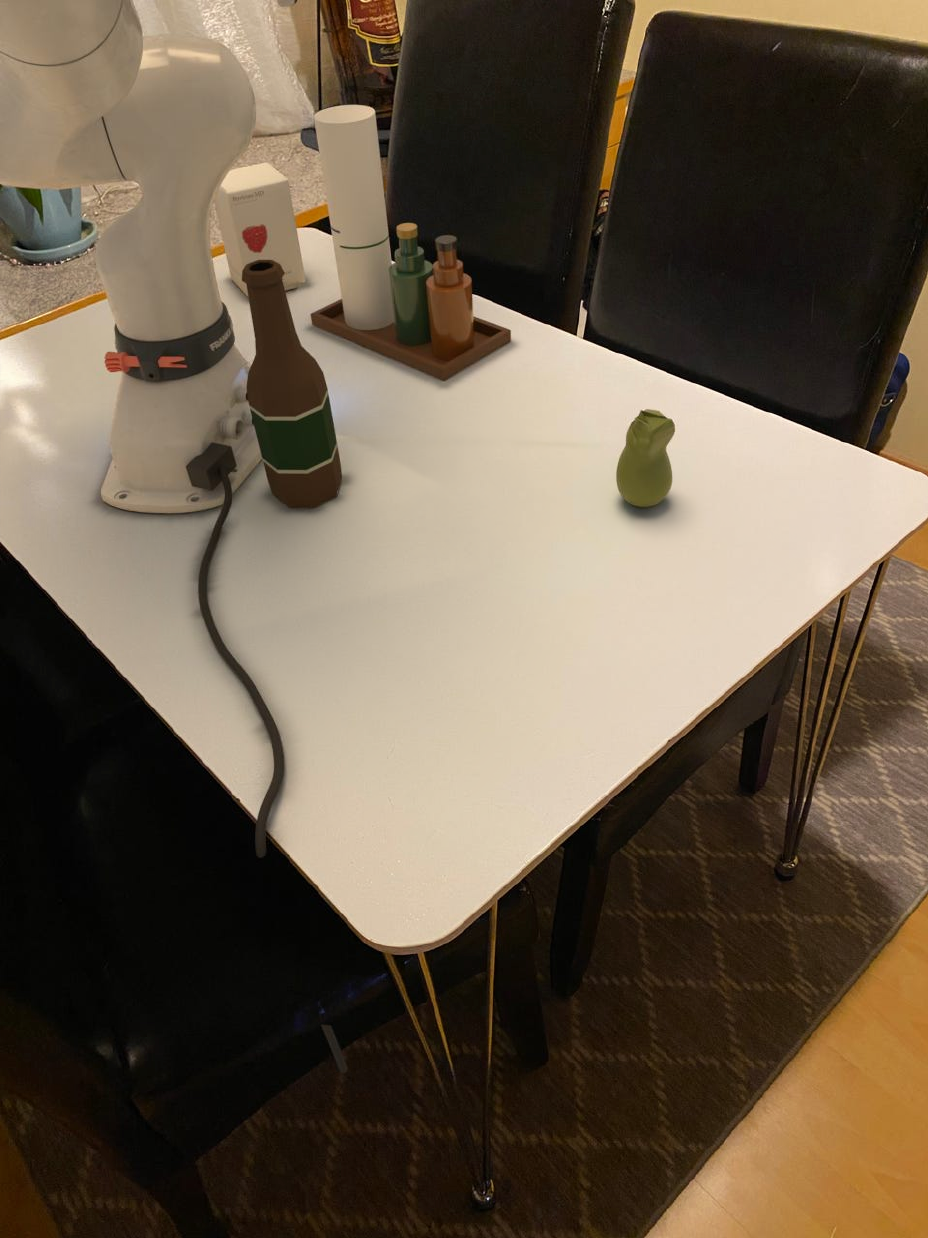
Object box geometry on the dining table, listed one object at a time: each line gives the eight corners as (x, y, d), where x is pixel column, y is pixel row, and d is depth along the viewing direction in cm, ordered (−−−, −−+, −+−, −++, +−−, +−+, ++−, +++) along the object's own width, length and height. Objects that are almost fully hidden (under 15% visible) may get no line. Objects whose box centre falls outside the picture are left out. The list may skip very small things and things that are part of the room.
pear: (638, 478, 94) (646, 393, 87) (680, 498, 91) (692, 412, 84) (604, 502, 91) (610, 416, 84) (646, 524, 88) (656, 437, 81)
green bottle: (434, 345, 115) (425, 235, 105) (392, 345, 116) (379, 235, 106) (440, 325, 119) (432, 217, 109) (400, 325, 120) (388, 217, 110)
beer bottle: (266, 476, 97) (211, 256, 81) (336, 461, 99) (297, 241, 82) (277, 517, 92) (221, 290, 75) (351, 501, 93) (312, 274, 77)
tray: (511, 344, 116) (511, 329, 114) (444, 385, 109) (443, 369, 108) (379, 295, 128) (378, 280, 127) (312, 328, 122) (310, 313, 120)
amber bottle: (472, 361, 112) (466, 248, 102) (428, 360, 113) (418, 248, 103) (477, 339, 116) (472, 229, 106) (435, 339, 116) (426, 229, 107)
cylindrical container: (377, 300, 125) (352, 101, 108) (408, 317, 121) (387, 112, 104) (335, 317, 122) (302, 114, 105) (364, 335, 118) (335, 127, 101)
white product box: (249, 301, 129) (224, 192, 118) (230, 279, 134) (205, 173, 124) (308, 285, 131) (289, 177, 121) (287, 264, 137) (267, 159, 127)
